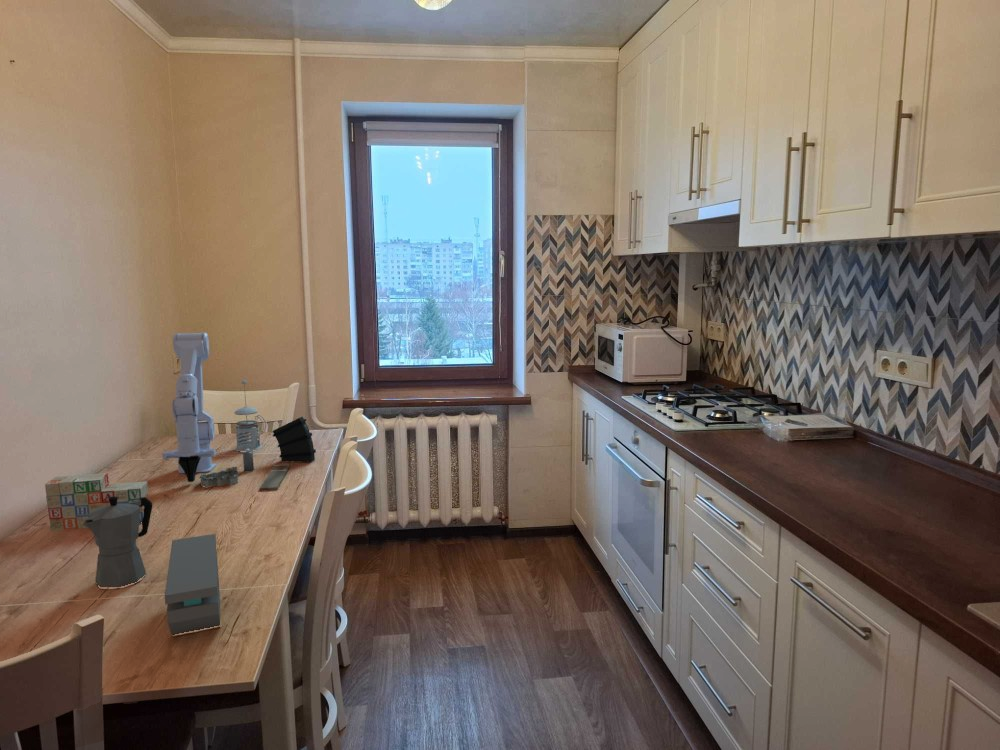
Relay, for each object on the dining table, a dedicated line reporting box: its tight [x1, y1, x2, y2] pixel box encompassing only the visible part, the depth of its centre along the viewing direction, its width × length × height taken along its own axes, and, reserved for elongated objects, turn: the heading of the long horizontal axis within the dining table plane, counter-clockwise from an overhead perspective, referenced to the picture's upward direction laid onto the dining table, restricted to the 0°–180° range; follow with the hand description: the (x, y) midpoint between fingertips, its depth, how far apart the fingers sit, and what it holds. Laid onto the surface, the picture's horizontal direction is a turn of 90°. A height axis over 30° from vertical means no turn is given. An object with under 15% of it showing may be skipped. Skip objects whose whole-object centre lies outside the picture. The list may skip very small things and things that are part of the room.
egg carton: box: [199, 466, 239, 488], centre depth 203 cm, size 11×8×4 cm
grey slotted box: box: [164, 533, 221, 636], centre depth 123 cm, size 25×8×11 cm, turn 23°
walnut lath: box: [259, 463, 291, 492], centre depth 207 cm, size 5×24×1 cm, turn 9°
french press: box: [233, 379, 267, 452], centre depth 240 cm, size 10×12×25 cm
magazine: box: [272, 416, 317, 463], centre depth 225 cm, size 4×13×15 cm, turn 83°
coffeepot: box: [83, 496, 153, 587], centre depth 139 cm, size 15×9×18 cm, turn 159°
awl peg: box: [242, 449, 255, 472], centre depth 215 cm, size 3×3×7 cm
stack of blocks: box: [44, 472, 149, 532], centre depth 170 cm, size 21×6×12 cm, turn 103°
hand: (191, 480), depth 202 cm, fingers closed
